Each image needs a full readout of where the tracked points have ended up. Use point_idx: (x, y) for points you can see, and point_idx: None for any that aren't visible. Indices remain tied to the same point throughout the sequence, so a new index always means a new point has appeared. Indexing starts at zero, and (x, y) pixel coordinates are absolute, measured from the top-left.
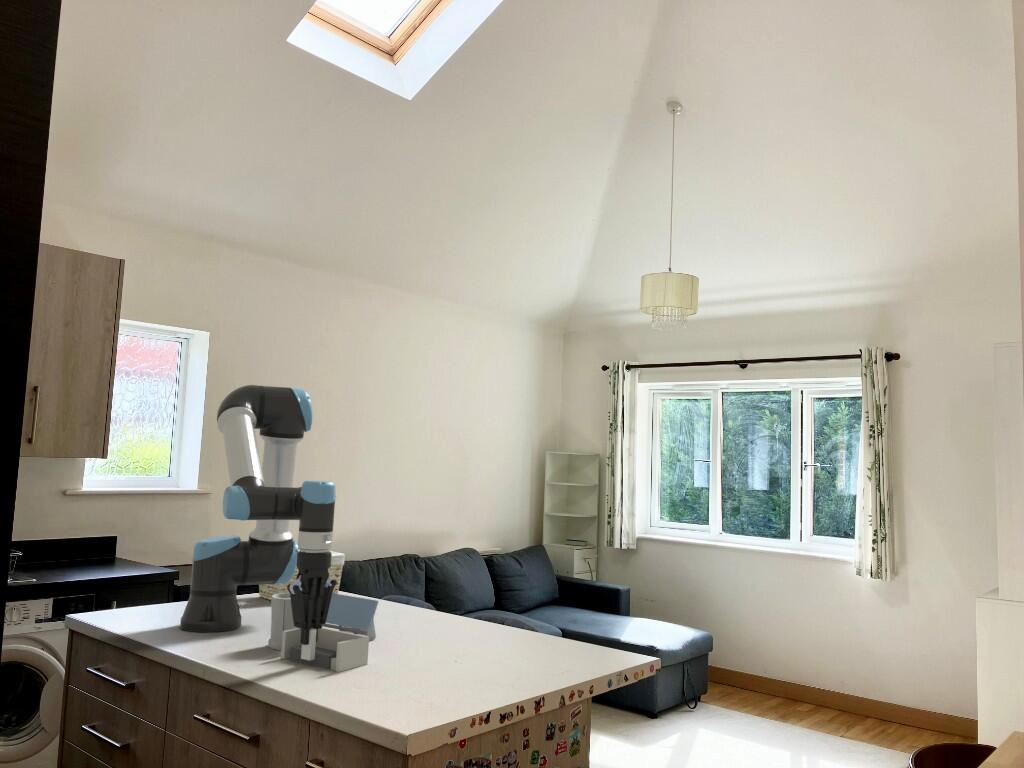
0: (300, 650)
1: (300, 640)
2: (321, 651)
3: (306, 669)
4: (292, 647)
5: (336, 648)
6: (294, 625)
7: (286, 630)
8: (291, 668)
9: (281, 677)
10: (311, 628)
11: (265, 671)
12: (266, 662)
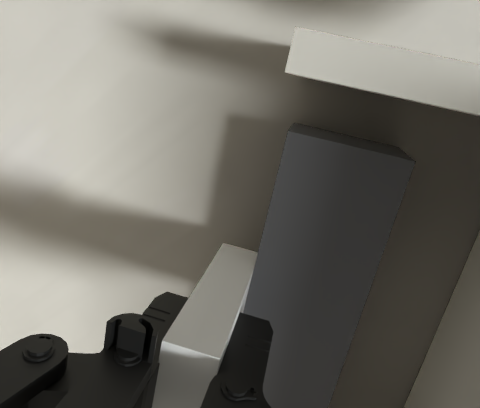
0: (267, 218)
1: (151, 303)
2: (278, 351)
3: (181, 291)
4: (284, 147)
5: (454, 360)
6: (25, 344)
7: (342, 38)
8: (160, 223)
9: (28, 262)
10: (197, 401)
11: (55, 146)
12: (188, 33)
